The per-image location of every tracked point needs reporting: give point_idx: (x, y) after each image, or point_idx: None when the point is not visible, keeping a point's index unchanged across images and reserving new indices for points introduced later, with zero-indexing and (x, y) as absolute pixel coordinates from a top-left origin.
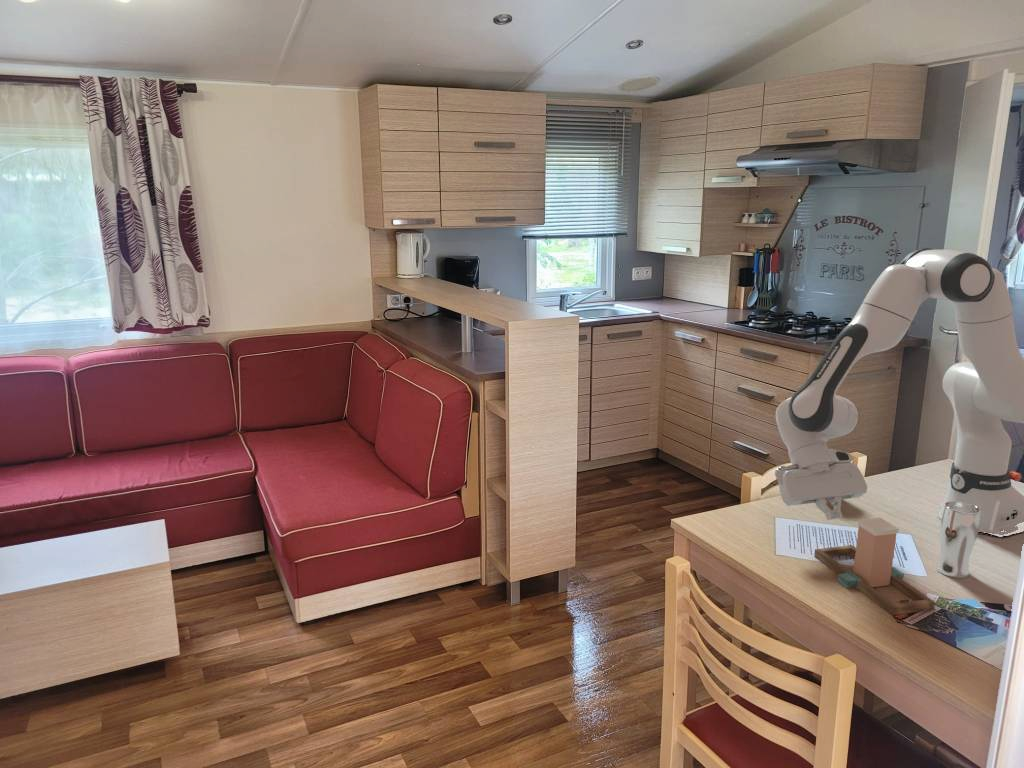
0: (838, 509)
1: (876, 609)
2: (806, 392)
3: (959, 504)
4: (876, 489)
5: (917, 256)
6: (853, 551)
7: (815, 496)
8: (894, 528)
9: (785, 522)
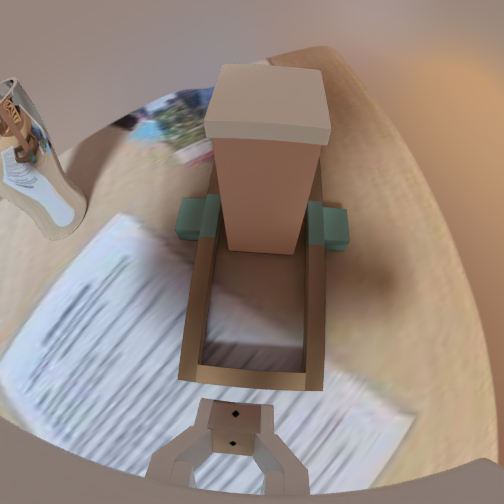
0: (204, 426)
1: (329, 150)
2: None
3: None
4: None
5: None
6: (199, 349)
7: (359, 497)
8: (235, 66)
9: None
